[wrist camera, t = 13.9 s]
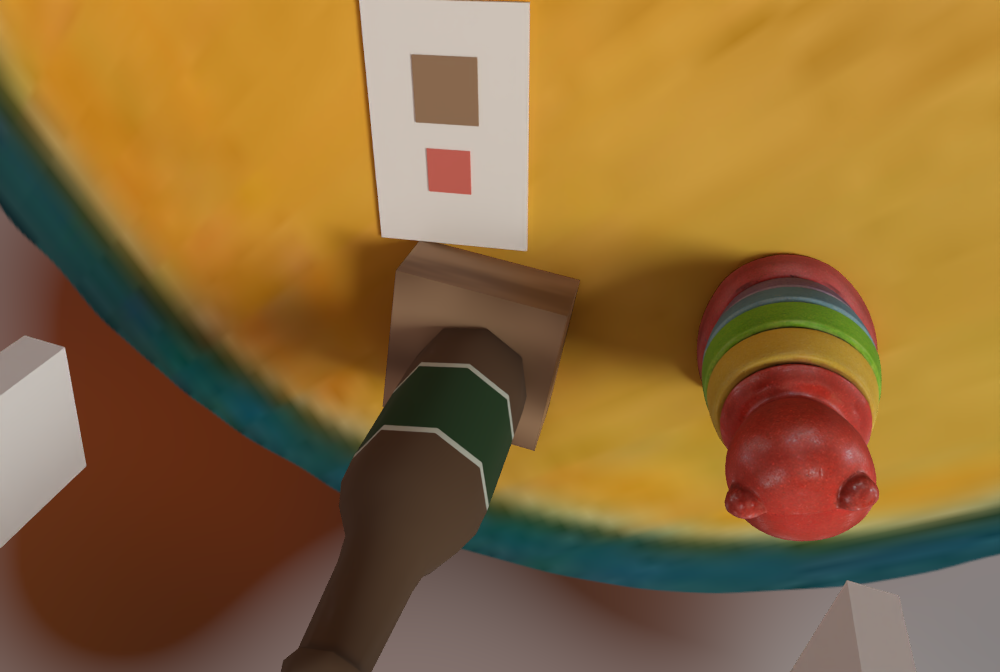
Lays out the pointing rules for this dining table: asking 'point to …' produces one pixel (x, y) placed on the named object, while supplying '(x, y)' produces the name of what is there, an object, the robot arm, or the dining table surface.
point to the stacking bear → (792, 395)
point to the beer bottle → (415, 492)
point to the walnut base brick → (483, 317)
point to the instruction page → (450, 119)
